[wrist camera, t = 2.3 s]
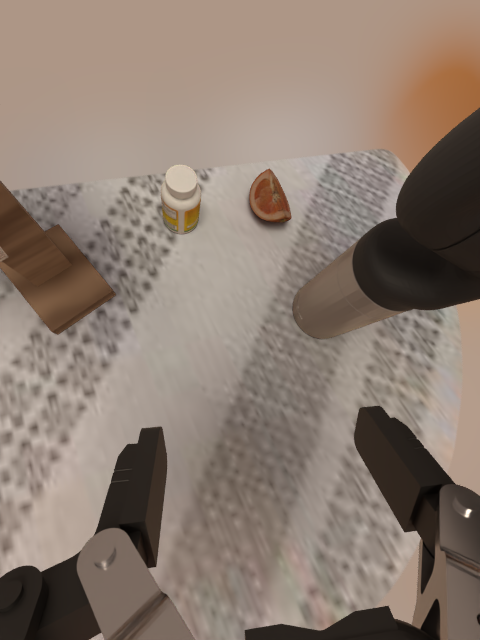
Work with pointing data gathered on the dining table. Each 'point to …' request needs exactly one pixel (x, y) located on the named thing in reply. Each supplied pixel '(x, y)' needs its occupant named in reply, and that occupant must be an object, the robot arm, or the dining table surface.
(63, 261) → the walnut stand
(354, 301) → the robot arm
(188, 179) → the supplement bottle
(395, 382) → the dining table surface
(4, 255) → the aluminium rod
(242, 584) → the dining table surface
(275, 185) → the fruit slice
